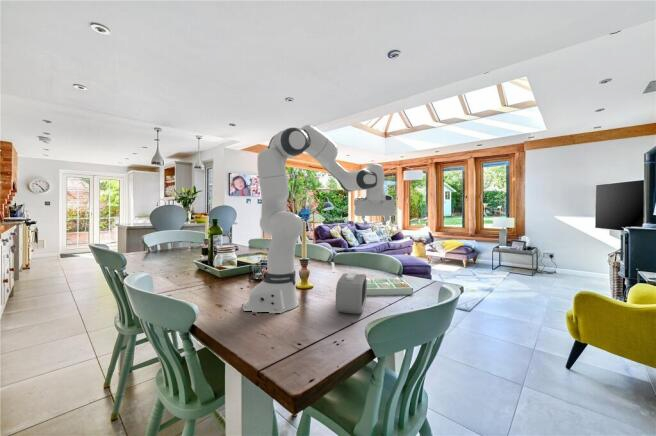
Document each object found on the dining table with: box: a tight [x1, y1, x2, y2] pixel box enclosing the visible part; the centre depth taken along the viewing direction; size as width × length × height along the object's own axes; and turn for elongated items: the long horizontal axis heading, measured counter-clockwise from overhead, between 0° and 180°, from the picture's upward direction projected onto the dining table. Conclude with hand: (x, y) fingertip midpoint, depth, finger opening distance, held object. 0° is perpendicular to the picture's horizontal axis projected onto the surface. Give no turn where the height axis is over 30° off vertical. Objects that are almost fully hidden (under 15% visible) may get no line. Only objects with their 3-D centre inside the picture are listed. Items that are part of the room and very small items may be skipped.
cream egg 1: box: [381, 282, 391, 288], centre depth 128 cm, size 4×4×4 cm
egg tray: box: [366, 278, 414, 296], centre depth 132 cm, size 23×16×4 cm
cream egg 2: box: [392, 277, 401, 283], centre depth 136 cm, size 4×4×4 cm
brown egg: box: [398, 282, 407, 288], centre depth 129 cm, size 4×4×4 cm
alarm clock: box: [335, 272, 368, 315], centre depth 111 cm, size 21×10×13 cm, turn 166°
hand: (374, 225), depth 137 cm, fingers open, 8 cm apart
